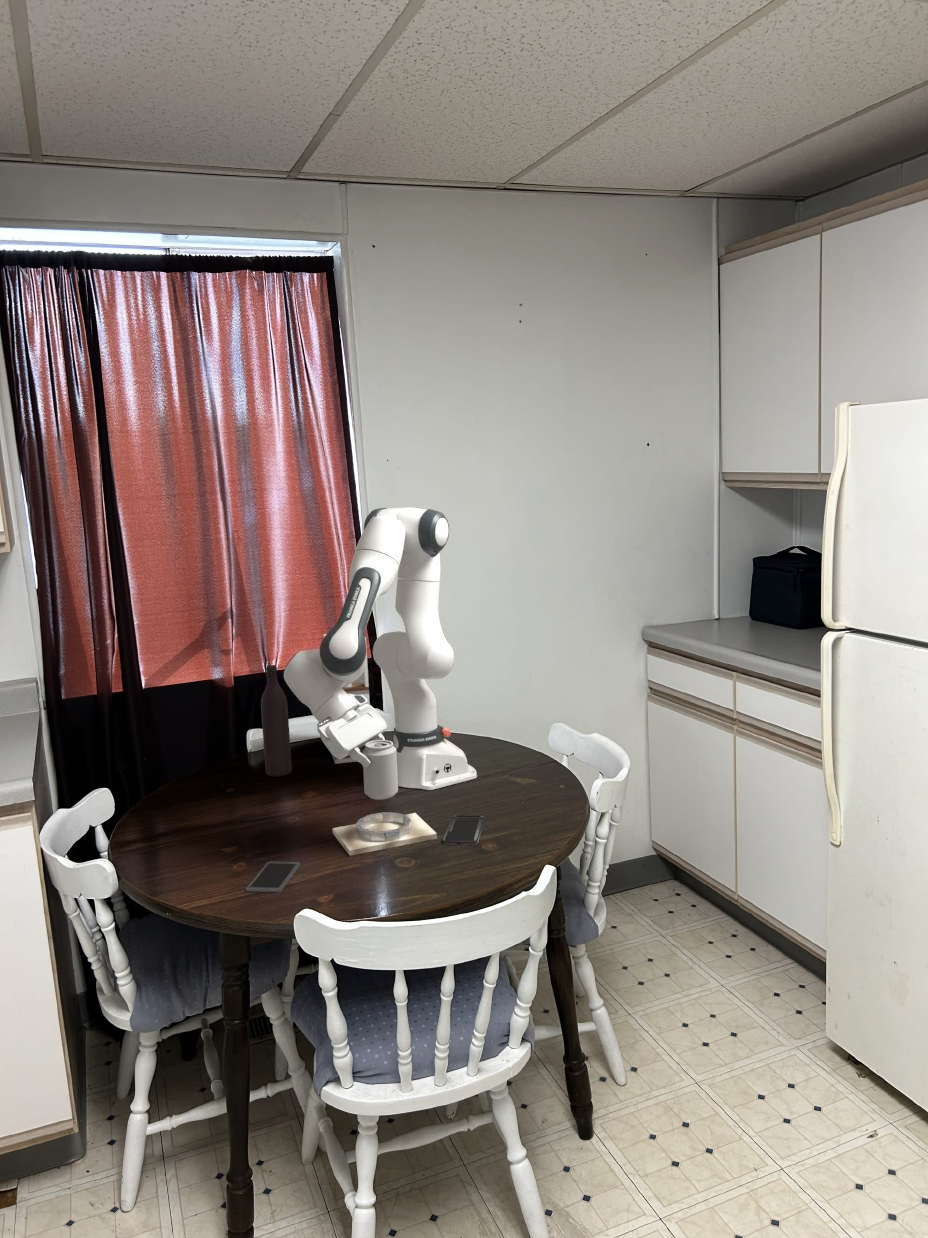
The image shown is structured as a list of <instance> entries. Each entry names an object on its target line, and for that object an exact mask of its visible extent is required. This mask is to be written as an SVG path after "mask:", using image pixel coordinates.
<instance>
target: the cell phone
mask: <svg viewBox="0 0 928 1238" xmlns="http://www.w3.org/2000/svg"><path fill="white" fill-rule="evenodd" d="M300 866H301V862H299V861H274V860H273V861H267V862H266V863H265V864H264V865H263V867H262V868H261V870H259V872H258V873H257V875H256V876H254V878H253V880H252V881H251V882H250V883H249V884H248V886H246V888H245V892H246V893H256V894H259V893H260V894H280V893H281V892H282V891H283V890H284V888H285V887H286V885H287V884H288V883H289V881H290V880H291V879H292V877H293V876H294V874H295V873H296V872H297V870H298V869H299V868H300Z"/></svg>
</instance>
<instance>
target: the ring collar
mask: <svg viewBox="0 0 928 1238" xmlns="http://www.w3.org/2000/svg"><path fill="white" fill-rule="evenodd" d="M382 822H395V823H398V824H402V825H403V826H401V827H399V828H397V829H393V830H388V831H371V830H368V829H364V828H365V827H367V826H369V825H371V824H376V823H382ZM355 824H356V834H357V835H358V836H359V837H360V838H361V839H365V840H368V841H383V842H385V841H391V840H396V839H400V838H402V837H404V836H406V835H408V834H409V833H410V831H411V819H410V818H409V817H408V816H407V815H406V814H403V813H400V812H399V813H398V812H392V811H391V812H390V811H389V812H383V811H382V812H378V813H377V812H376V813H371V814H367V815H365V816H363V817H361V818H358V820H357V822H356V823H355Z"/></svg>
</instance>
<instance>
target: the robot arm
mask: <svg viewBox="0 0 928 1238" xmlns="http://www.w3.org/2000/svg"><path fill="white" fill-rule="evenodd" d="M363 523H364V524H363V532H362V534H361V536H360V538H359V540H358V542H357V545H356V548H355V550H354V554H353V557H352V560H351V563H350V568H349V576H348V582H349V583H348V584H349V586H348V591H347V595H346V597H345V600H344V603H343V606H342V608H341V611H340V614H339V617H338V620H337V622H336V623H335V624H334V626H333V627H332V628H331V629H330V630H329V631H328V632H327V633H325V634H326V636H325V637H324V636H323V638H322V640H321V643H320V644H319V645H320V646H319V648H316V649H311V650H299V651H298V652H297V653H294V655H293V656H291V658H290V659H289V661H288V662H287V664H286V665H285V667H284V670H283V680H284V681H285V683H286V685H287V686H288V687H289V689H290V691H291V692H292V693H293V694H294V695H295V697H296V698H297V699H298V700H299V701H300V702H301V703H302V704H303V705H305V706H306V707H308V708H309V710H310V711H311V714H312V717H314V718H315V719H316V720H317V721H318V722H317V725H316V726H317V727H316V728H317V729H316V731H317V733H318V734H319V736H320V740H321V741H322V743H323V742H324V743H323V744H324V745H325V747H326V748H327V749H328V751H329V752H330V754H331V753H332V754H331V756H332V755H333V756H334V757H336V758H337V759H342V758H344V757H346V756H347V755H349V756H350V757H351V758H352V759H354V760H356V761H355V762H358V763H360V764H361V765H362V767H363V766H364V767H365V768H366V767H368V766H369V765H370V764H371V763H372V759H370V757H369V756H365V755H364V754H362V753H361V752H360V749H359V748H361V747H362V746H364V745H365V744H366V743H367V742H370V741H374V740H386V739H385V736H384V735H383V734H384V733H385V732H386V730H387V729H388V724H387V722H386V721H385V719H384V718H383V717H382V716H381V714H380V713H379V712H378V711H377V710H376V708H374V707H373V706H372V705H371V704H370V705H369V704H366V703H367V701H368V700H367V699H366V697H365V696H363V695H353V694H347V693H346V692H345V691H344V690H343V689H342V688H344V687H346V686H347V685H349V684H351V683H352V682H354V681H356V680H357V679H358V678H359V677H360V676H361V675H362V673H363V671H364V667H365V656H366V647H367V641H366V642H365V638H366V636H365V635H366V634H365V633H366V628H367V626H368V622H369V620H370V617H371V614H372V611H373V607H374V604H375V603H376V600H378V598H379V597H380V596H384V595H385V594H387V593H388V592H389V590H390V588H391V586H392V585H393V583H394V581H395V579H396V580H397V581H396V591H395V592H396V593H395V607H394V608H395V610H396V613H398V615H399V617H400V618H401V619H402V621H403V625H404V630H405V631H399V630H398V631H391V632H390V631H389V632H385V633H383V634H380V635H379V636H378V637H377V639H376V640H375V642H374V644H373V647H372V656H373V660H374V662H375V663H376V665H378V667H379V668H380V670H381V671H382V672H383V674H384V677H385V679H386V682H387V683H388V687H389V690H390V693H391V698H392V703H393V713H394V726H395V727H393V746H394V747H395V748H396V754H397V777H398V787H401V788H402V787H403V788H408V789H421V790H426V791H433V790H436V789H440V788H444V787H447V786H451V785H455V784H460V783H463V782H467V781H471V780H474V779H477V777H478V774H477V770H476V769H475V768H474V767H473V766H472V765H470V764H468V759H467V756H466V754H465V752H464V751H463V750H462V749H461V748H459V747H458V746H457V745H455V744H454V743H452V742H451V741H449V740H448V739H446V738H450V736H451V735H452V732H451V730H450V729H449V728H447V727H443V726H441V725H440V724H438V713H437V712H438V711H437V707H438V706H437V698H436V696H435V694H434V693H433V691H432V690H431V689H430V687H429V685H427V682H426V680H438V679H439V680H440V679H443V678H446V677H447V676H448V675H449V674H450V673H451V672H452V670H453V668H454V666H455V665H454V664H455V659H456V658H455V651H454V649H453V647H452V645H451V644H450V643H449V642H448V641H447V639H446V637H445V635H444V632H443V628H442V625H441V620H440V611H439V605H440V590H441V589H440V586H441V573H442V572H441V555H440V552H442V550H443V549H444V548H445V546H446V545H447V543H448V540H449V537H450V524H449V521H448V518H447V517H446V516H445V513H443V512H440V511H439V510H437V509H431V508H428V509H423V508H420V507H419V508H418V507H409V506H407V507H406V506H405V507H392V508H390V507H389V508H387V507H379V508H375V509H373V510H371V511H370V512H369V513H368V515H367V516H366V517H365V520H364V522H363ZM333 756H332V757H333Z"/></svg>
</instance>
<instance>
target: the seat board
mask: <svg viewBox="0 0 928 1238" xmlns="http://www.w3.org/2000/svg"><path fill="white" fill-rule="evenodd" d="M405 815H407V816H408V817H409V818H410V819H411V831H410V833H409V834H408V835H406V836H404V837H402V838H400V839H396V840H391V841H385V842H383V841H368V840H365V839H361V838H360V837H359V836H358V835H357V834H356V823H355V824H354V823H353V824H348V825H344V826H338V827H333V828H332V834H333V836H334V837H335V838H336V840H337V841H338V842H339V843H340V845H341V846H342V848H343V849H344V851H346V852H347V854H348V855H349V856H356V855H357V856H358V855H360V854H366V853H367V854H368V853H372V852H376V851H381V850H386V849H391V848H397V847H401V846H405V845H406V846H407V845H410V844H417V843H421V842H425V841H426V842H427V841H431V840H436V839H438V836H437V835H438V833H437V832H436V831H435V830H434V829H433V828H432V827H430V825H429V824H428V823H427V822H425V821H424V820H423V819H422V818H421V817H420V816H419V815H418V813H416V812H413V813H406V814H405ZM401 826H403V825H402V824H398V823H395V822H382V823H376V824H371V825H369V826H367V827H365V828H364V829H368V830H371V831H388V830H393V829H397V828H399V827H401Z"/></svg>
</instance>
